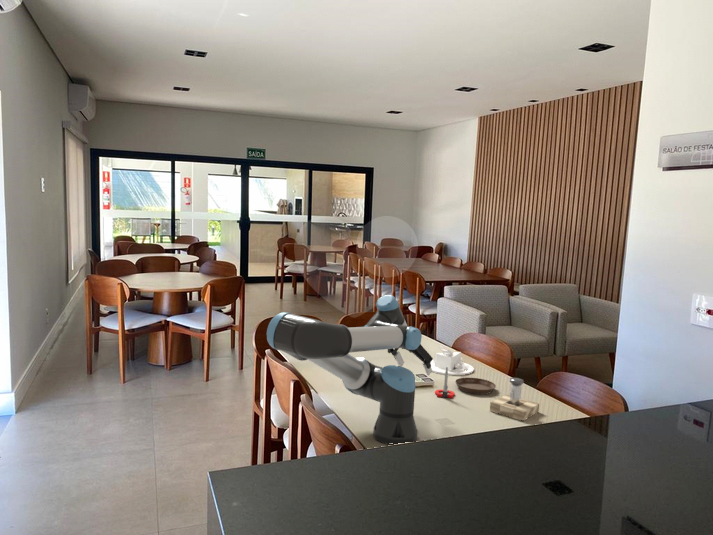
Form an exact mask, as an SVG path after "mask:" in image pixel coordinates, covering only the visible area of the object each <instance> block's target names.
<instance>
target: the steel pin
mask: <svg viewBox="0 0 713 535" xmlns="http://www.w3.org/2000/svg"><path fill="white" fill-rule="evenodd" d="M509 383H510V392H509V395H510V404H511V405H515V406H520V399H522V398H521V397H522V386H523V384H524V379H522V378H519V377H510V378H509Z"/></svg>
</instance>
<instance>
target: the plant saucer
mask: <svg viewBox="0 0 713 535" xmlns="http://www.w3.org/2000/svg"><path fill="white" fill-rule="evenodd" d="M454 382H455V384H456V386H457V388H458V389H460V390H461V391H463V392H465V393H468V394H473V393H474V394H473V395H486V394H487V393H488V394H490V393H492V391H494V390H495V389H496V387H497V385H496V384H495V383H494V382H493V381H490V380H487V379H484V378H477V377H459V378H457V379H455V381H454Z"/></svg>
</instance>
